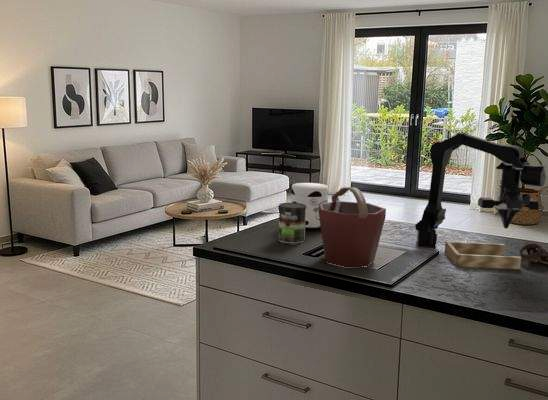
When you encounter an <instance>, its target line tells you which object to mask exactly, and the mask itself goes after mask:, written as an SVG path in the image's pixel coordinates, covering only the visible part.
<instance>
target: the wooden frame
mask: <svg viewBox="0 0 548 400" xmlns="http://www.w3.org/2000/svg"><path fill="white" fill-rule="evenodd" d="M505 247H506V244H505V243H494V242H493V243H491V242H490V243H489V242H468V241H467V242H465V241H464V242H463V241H445V242H444V253H445V255H446V256H447V257H448V258H449V259H450V260H451V262H452V263H453V264H454V265H455V267H464V268H484V269H485V268H486V269H487V268H488V269H504V270H509V269H510V270H521V264H522V261H521V257H519V256H518V255H517V256H515V255H514V256H513V255H512V256H511V255H505Z"/></svg>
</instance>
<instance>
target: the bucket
mask: <svg viewBox="0 0 548 400" xmlns="http://www.w3.org/2000/svg"><path fill="white" fill-rule="evenodd" d="M348 191H350V192H352V194H353V197H354V198H355V200H356V201H346V200H345V201H343V200H342V201H341V200H340V199H339V197H342V196H343V195H345V194H346V193H347V192H348ZM386 210H387V208H385V207H381V206H379V205H375V204H373V203H370V202H369V203H368V202H367V201H366V198H365V196H364V194H363V192H362V191H361V190H360V189H359V188H357V187H354V186H353V187H350V186H347V187H346V186H345V187H344V186H343V187H341V188H340V189H339V190H338V191H336V192H335V193H333V194H332V195H331V202H330V201H329V202H328V203H322V204H319V219H320V226H321V229H320V232H321V240H322V244H323V245H322V246H323V253H324V259H325V260H324V261H325V263H326V262H328V263H332V264H336V265H340V266H344V267H362V266H363V267H364V266H368V265H369V264H370V263H371V262H373V261H374V262H375V259H376V253H377V252H378V248H379V243H380V239H381V237H382V236H381V235H382V232H383V229H384V225H385V222H386V221H385V220H386V215H387V211H386ZM374 262H373V263H374ZM369 266H370V265H369ZM369 266H368V267H369Z"/></svg>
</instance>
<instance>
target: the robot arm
mask: <svg viewBox="0 0 548 400" xmlns="http://www.w3.org/2000/svg"><path fill="white" fill-rule="evenodd" d="M461 146H465V147H468V148H471V149H474V150H478V151H480V152H483V153H487V154H489V155H492V156H493V157H495V158H496V159H498V160H499V161H501V163H500V164H499V165H497V166H496V167H495V169H496V170H501V171H502V172H501V180H500V181H501V183H500V184H499V188H500V190H499V196H498V200H496V199H494V198H491V197H484V196H483V197H479V198H478V200H477V206H478V207H480V208H482V209H493V208H494V209H495V210H497V211H498V214H499V216H500V219H501V222H502V226H503V228H504V229H508V228H509V226H510V224H511V221H512V220H513V218H514V216H515V215H516V214H518V213H520V212H522V209H523V208H527V209H529V210H530V211H538V210H540V203H539V201H537V200H535V199H532V198H531V194H530V193H523V194H521V187H520V182H521V183H522V184H523V185H524V186H531V187H538V188H542V187H544V186H545V183H546V171H545V166H544V165H531V164H530V163H529V161H528V160H527V158H526V157H525V150H524V149H523V147H521V146H518V145H511V144H504V143H496V142H493V141H490V140H487V139H484V138H480V137H477V136H474V135H471V134H469V133H466V132H458V133H456V134H455V135H453V136H451V137H449V138H447V139H444V140H442V141H435V142H433V144H431V146H430V148H429V149H430V150H429V151H430V152H429V153H430V161H431V163H432V164H431V165H432V169H431V178H430V185H429V193H428V194H429V195H428V201H427V205H426V206H425V208H424V210H423V213H422V216H421V220H419V221H418V222H416V223H415V225H414V226H415V231H416V232H417V233H416V235H417V236H416V241H415V244H416V245H417V247H420V248H436V247H437V242H438V241H437V238H438V234H437V232H436V231H437V229H438V227H439V225H441V224H442V223H443V221H444V220H446V211H447V209H446V208H443V206H442V198H443V193H444V192H443V191H444V183H445V177H446V170H447V169H446V168H447V165H448V164H449V161H450V159H451V157H452V154H453V151H455V150H457V149H458V148H460V147H461Z"/></svg>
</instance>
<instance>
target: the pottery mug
mask: <svg viewBox="0 0 548 400" xmlns="http://www.w3.org/2000/svg"><path fill="white" fill-rule="evenodd" d="M524 251H526V253H527V254H526V253H523V252H524ZM518 257H521V263H522V262H525V263H530V262H535V261H537V262H538V261H539V262H543V263H547V264H548V251H547V250H546V248H544V247H542V245H541V244H540V243H538V242H537V243H536V242H530V243H526V244H524V245H523V246H521V247H520V248H519V255H518Z"/></svg>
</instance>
